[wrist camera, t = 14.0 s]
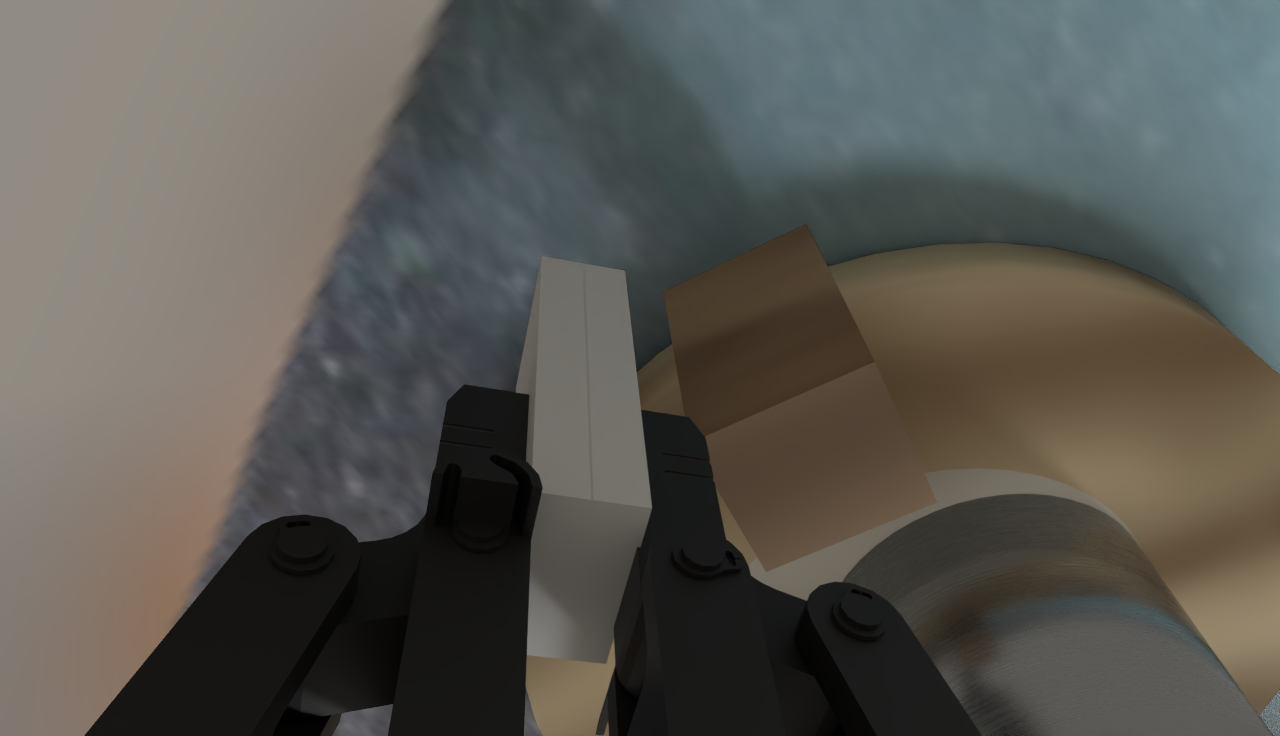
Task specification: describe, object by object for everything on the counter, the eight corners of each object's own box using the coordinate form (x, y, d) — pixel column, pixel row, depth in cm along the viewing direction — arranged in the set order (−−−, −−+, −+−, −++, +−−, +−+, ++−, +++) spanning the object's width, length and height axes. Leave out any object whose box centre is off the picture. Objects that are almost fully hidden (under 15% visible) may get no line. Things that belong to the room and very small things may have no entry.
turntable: (1335, 683, 30) (1525, 915, 24) (717, 896, 34) (749, 1143, 28) (1201, -16, 19) (1484, 93, 13) (316, 411, 23) (229, 645, 17)
